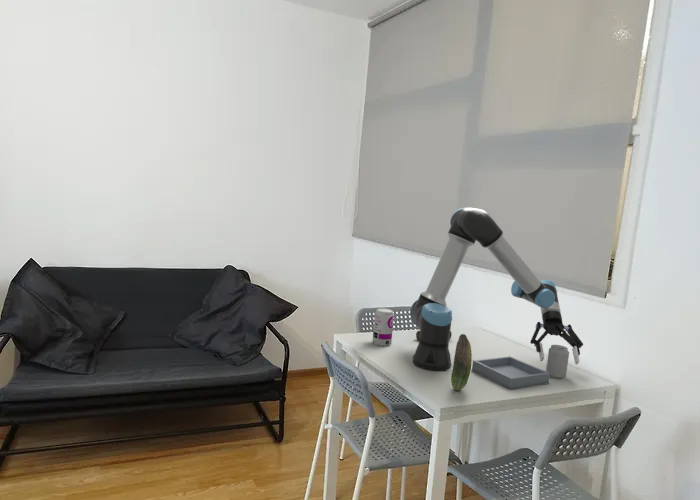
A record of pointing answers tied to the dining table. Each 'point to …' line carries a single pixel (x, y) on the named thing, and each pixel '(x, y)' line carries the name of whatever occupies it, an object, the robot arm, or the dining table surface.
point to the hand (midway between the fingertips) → (559, 361)
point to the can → (557, 361)
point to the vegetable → (461, 363)
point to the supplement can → (383, 327)
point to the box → (510, 372)
